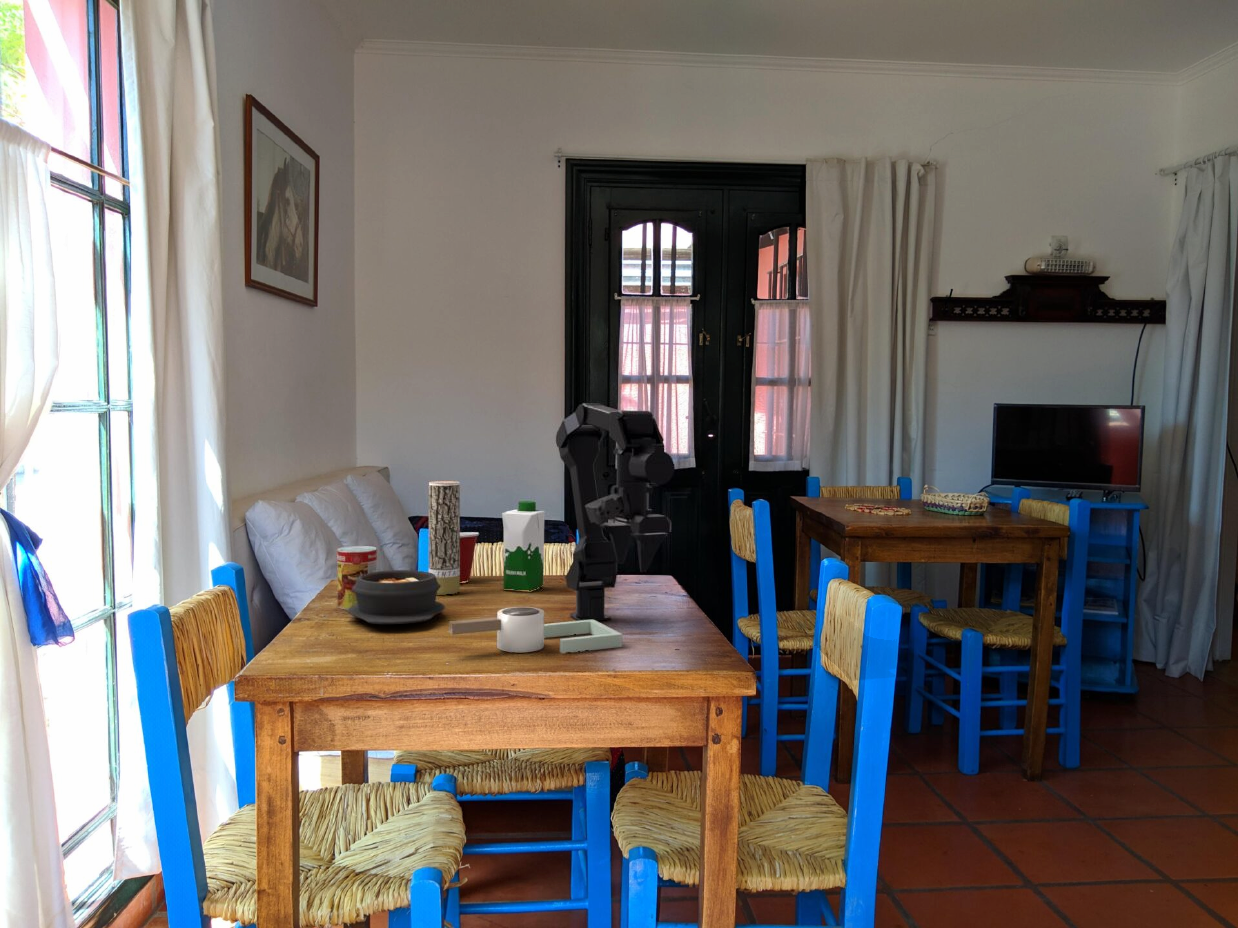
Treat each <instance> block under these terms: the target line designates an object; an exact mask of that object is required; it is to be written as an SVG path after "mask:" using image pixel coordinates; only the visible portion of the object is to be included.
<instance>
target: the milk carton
mask: <svg viewBox="0 0 1238 928" xmlns="http://www.w3.org/2000/svg"><path fill="white" fill-rule="evenodd" d="M517 505H518V507H517V508H518V509H512V510H507V511H505V512H502V513H501V516H502V524H503V525H502V526H503V577H502V578H503V589H514V590H529V591H531V590H534V589H537V588H538V587H541V586H542V585H543V586H544V566H545V565H544V563H545V561H544V559H545V518H546V517H545V515H546V511H545V510H538V509H537V507H536V505H537V504H536V501H531V500H530V501H529V500H528V501H527V500H525V501H518V504H517ZM503 589H502V590H503ZM537 590H538V589H537Z"/></svg>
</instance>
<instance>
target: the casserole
mask: <svg viewBox="0 0 1238 928" xmlns="http://www.w3.org/2000/svg"><path fill="white" fill-rule="evenodd" d="M440 587H441V585H440V584H439V583H438V582H437V579H436V576H435V575H434V574H432V573H429V571H424V570H423V571H422V570H414V569H398V570H397V569H396V570H395V569H393V570H392V569H391V570H380V571H377V572H373V573H368V574H364V575H361V576H359V577H358V578H357V581H356V584H355V585H354V586H353V587H352V590H353V592H354V593H355V595H356V600H357V604H356V605H354V606H352V607H350V608H349V609H348V610H347V613H348V614H349V615H351V616H352V617H354V618H358V619H361V620H363V621H365V622H367V623H369V624H373V625H374V624H376V625H399V624H415V623H420V622H426V621H429V620H431V619H432V618H433V617H434V616H435V615H438V614H439V613H441V612H443V611H445V609H446V607H445V605H444V604H443V603H441V602H439V601H436V599H437V596H438V595H437V591H438V589H439V588H440Z"/></svg>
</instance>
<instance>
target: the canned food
mask: <svg viewBox="0 0 1238 928" xmlns="http://www.w3.org/2000/svg"><path fill="white" fill-rule="evenodd" d="M377 549H378V548H377V547H375V546H371V545H370V546H369V545H368V546H367V545H365V546H364V545H355V546H354V545H353V546H344V547H338V548H337V549H336V550H337V555H336V557H337V559H336V560H337V563H336V565H337V570H336V571H337V607H338V608H339V609H342V610H347V611H348V609H349V608H350V607H352V606H354V605H356V604H357V600H356V595H355V593H354V592H353V590H352V587H353V586H354V585H355V584H356V581H357V578H358V577H359V576H361V575H364V574H368V573H373V572H378V571H377V570H378V569H377V568H378V561H377V560H378V557H377V555H378V553H377V551H378V550H377Z"/></svg>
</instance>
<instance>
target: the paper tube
mask: <svg viewBox="0 0 1238 928" xmlns="http://www.w3.org/2000/svg"><path fill="white" fill-rule="evenodd" d="M460 489H461V485H460V481H455V480H454V481H448V480H443V481H442V480H441V481H437V480H436V481H429V482H428V572H429V573H432V574H434V575H435V576H436V579H437V582H438V583H439V584H440V585H441V587H440V588H439V589H438V591H437V595H436V596H446V595H445V594H453V595H456V594H458V593H459V592H460V586H461V584H460V533H461V529H460V527H461V526H460V523H461V521H460V520H461V513H460V512H461V511H460V510H461V508H460V506H461V503H460V502H461V497H460V496H461V491H460ZM457 592H458V593H457ZM455 593H456V594H455ZM438 594H439V595H438Z"/></svg>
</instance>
